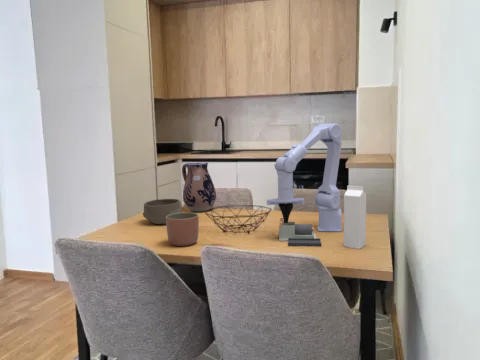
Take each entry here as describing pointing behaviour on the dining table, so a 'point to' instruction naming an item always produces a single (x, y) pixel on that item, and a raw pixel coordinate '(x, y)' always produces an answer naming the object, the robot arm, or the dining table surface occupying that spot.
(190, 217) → the planter
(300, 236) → the white roller cradle
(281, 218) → the long tan wooden plank
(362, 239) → the milk
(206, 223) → the dining table surface
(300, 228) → the grey roller spool
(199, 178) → the ceramic pitcher
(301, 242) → the dark grey roller cradle
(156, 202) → the bowl
